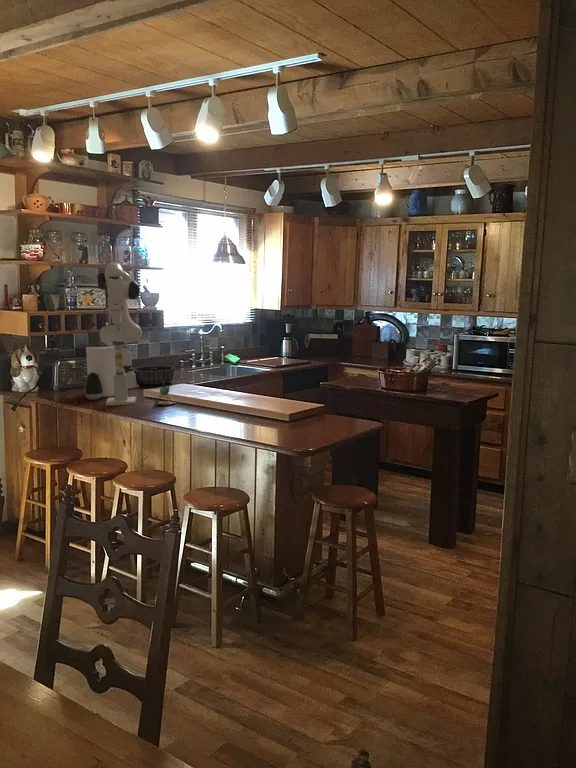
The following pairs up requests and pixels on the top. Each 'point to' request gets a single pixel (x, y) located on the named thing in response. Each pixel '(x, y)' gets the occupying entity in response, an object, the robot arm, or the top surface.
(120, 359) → the column
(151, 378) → the bundt pan
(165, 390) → the frog figurine
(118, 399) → the stand base
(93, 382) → the dark grey egg shape
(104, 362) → the white tall block
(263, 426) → the top surface
